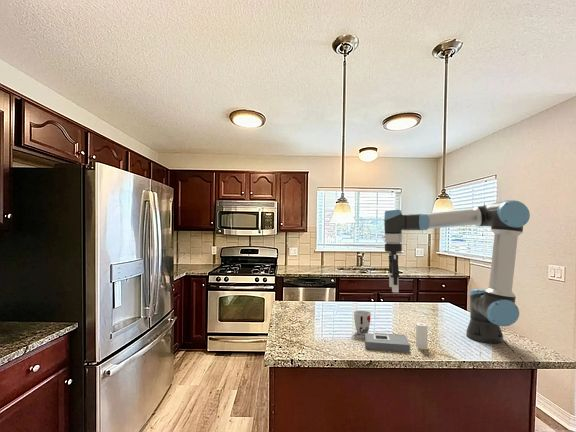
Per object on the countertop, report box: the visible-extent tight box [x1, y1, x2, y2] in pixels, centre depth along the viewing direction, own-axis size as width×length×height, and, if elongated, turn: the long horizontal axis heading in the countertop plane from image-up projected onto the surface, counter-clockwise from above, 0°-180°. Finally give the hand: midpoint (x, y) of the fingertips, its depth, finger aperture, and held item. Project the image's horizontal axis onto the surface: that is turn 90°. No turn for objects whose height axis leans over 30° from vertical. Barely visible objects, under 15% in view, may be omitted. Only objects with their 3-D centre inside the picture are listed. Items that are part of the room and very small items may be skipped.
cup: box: [353, 310, 372, 336], centre depth 164 cm, size 8×8×10 cm
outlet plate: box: [364, 332, 411, 353], centre depth 146 cm, size 18×12×3 cm, turn 79°
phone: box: [374, 332, 406, 336], centre depth 157 cm, size 14×7×1 cm, turn 79°
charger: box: [415, 322, 429, 350], centre depth 144 cm, size 4×4×10 cm
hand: (393, 289), depth 151 cm, fingers open, 13 cm apart
